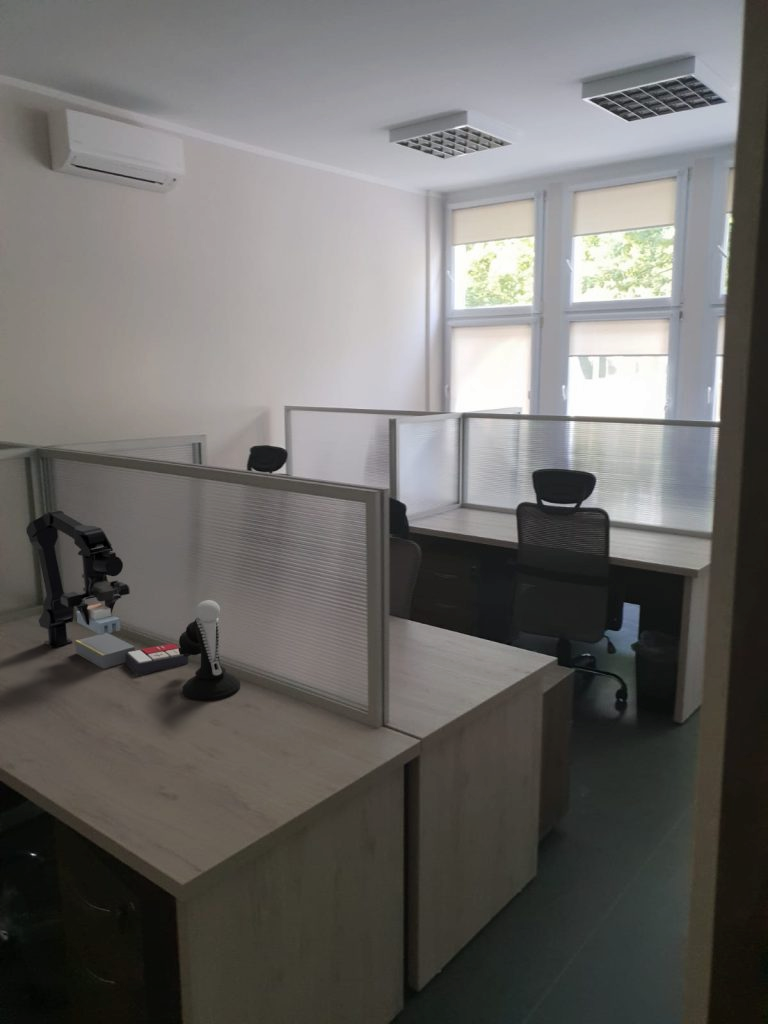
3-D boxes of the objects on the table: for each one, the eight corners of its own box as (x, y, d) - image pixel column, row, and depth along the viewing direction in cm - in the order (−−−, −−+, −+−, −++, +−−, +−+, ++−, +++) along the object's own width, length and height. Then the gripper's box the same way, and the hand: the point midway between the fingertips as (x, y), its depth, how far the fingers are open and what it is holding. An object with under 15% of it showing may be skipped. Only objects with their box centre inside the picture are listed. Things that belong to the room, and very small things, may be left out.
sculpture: (197, 706, 200) (191, 612, 195) (160, 678, 218) (154, 592, 214) (250, 690, 209) (246, 600, 205) (210, 664, 228) (205, 581, 223)
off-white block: (89, 616, 230) (88, 609, 230) (105, 613, 233) (105, 606, 233) (94, 619, 228) (94, 612, 227) (111, 615, 231) (110, 608, 230)
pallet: (77, 622, 236) (76, 611, 235) (96, 617, 240) (95, 606, 239) (100, 635, 225) (99, 623, 224) (120, 630, 229) (119, 618, 228)
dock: (76, 653, 238) (75, 640, 237) (107, 644, 245) (106, 632, 244) (103, 668, 226) (102, 655, 225) (135, 659, 233) (134, 646, 232)
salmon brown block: (84, 614, 233) (83, 607, 232) (100, 610, 236) (99, 603, 236) (89, 616, 230) (88, 609, 230) (105, 613, 233) (105, 605, 233)
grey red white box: (188, 652, 229) (138, 661, 220) (189, 666, 229) (138, 676, 221) (174, 641, 237) (125, 650, 229) (175, 655, 238) (125, 664, 229)
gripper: (73, 582, 217) (78, 636, 220) (136, 569, 230) (140, 620, 233) (57, 575, 225) (62, 627, 228) (119, 563, 238) (123, 612, 241)
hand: (98, 621), depth 232 cm, fingers closed on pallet, 6 cm apart
